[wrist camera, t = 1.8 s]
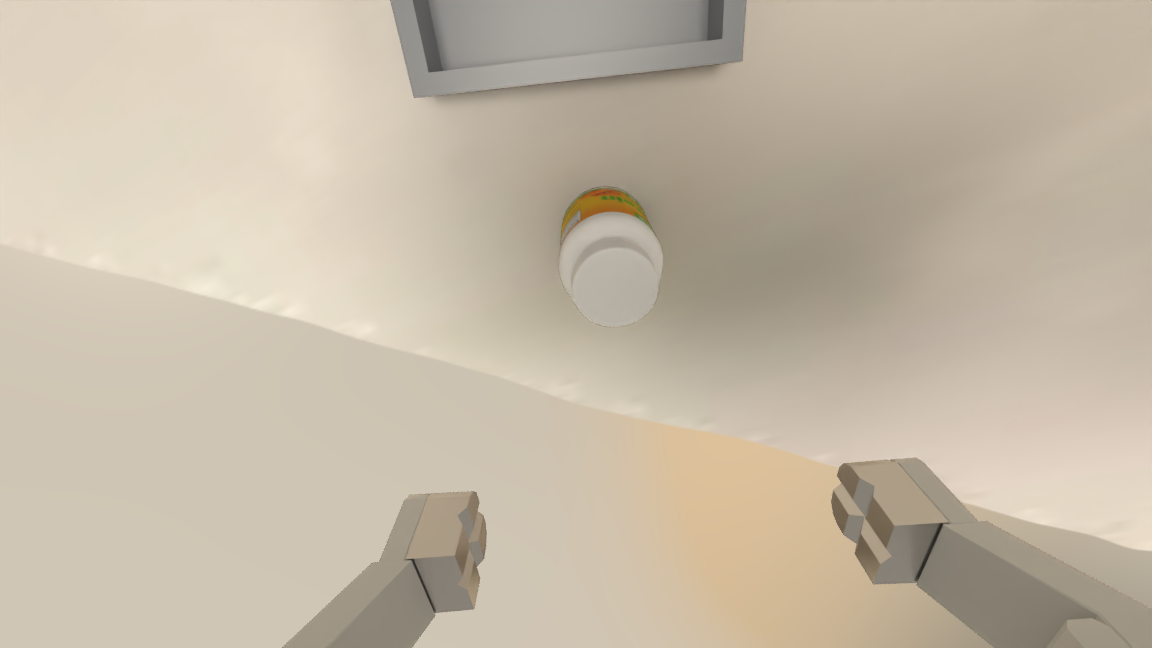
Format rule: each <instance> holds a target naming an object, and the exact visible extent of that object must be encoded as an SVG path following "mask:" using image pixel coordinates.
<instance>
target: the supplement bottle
mask: <svg viewBox="0 0 1152 648" xmlns="http://www.w3.org/2000/svg"><path fill="white" fill-rule="evenodd" d="M662 271H663V254H662V249H661V246H660V244H659V241H658V239H657V237H656V235H655V233H654V231H653V229H652V228H651V226H650V224H649V222H648V220H647V218H646V216H645V214H644V212H643V210H642V208H641V206H640V205H639V203H638V202H637V201H636V200H635V199H634V198H633V197H632V196H631V195H629V194H628V193H626V192H624V191H622V190H620V189H617V188H612V187H599V188H594V189H591V190H588V191H586V192H584V193H583V194H581V195H580V196H579V197H577V198H576V199H575V200H574V201H573V202H572V204H571V205H570V206H569V208H568V210H567V211H566V214H565V216H564V220H563V224H562V231H561V242H560V253H559V273H560V278H561V281H562V284H563V286H564V288H565V290H566V291H567V293H568V294H569V295H570V297H571V298H572V299H573V300H574V302H575V305H576V306H577V308H578V310H579V311H580V312H581V313H582V315H584V316H585V317H586V318H587V319H588V320H590V321H592V322H593V323H595V324H598V325H601V326H605V327H623V326H627V325H630V324H632V323H635V322H636V321H638V320H640V319H641V318H642V317H644V316H645V315H646V314H647V313H648V312H649V311H650V310H651V308H652V306H653V305H654V303H655V301H656V299H657V295H658V290H659V281H660V279H661V276H662Z"/></svg>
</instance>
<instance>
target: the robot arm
mask: <svg viewBox="0 0 1152 648" xmlns="http://www.w3.org/2000/svg"><path fill="white" fill-rule="evenodd" d="M837 477H838V478H839V480H840V481H841V484H840V485H839V486H838V487H836V488H835V489H834V490H833V494H832V500H831V503H832V510H833V515H834V517H835V520H836V522H837V525H838V526H839V528H840V530H841V531H842V533H843V535H845V536H846V537H847V538H849V539H850V540H852V541H853V542H855V543H856V550H855V555H856V557H857V558H858V560H859V562H860V563H861V565H862V566H863V568H864V570H865V572H866V573H867V575H868V576H869V578H870V580H871V581H872V583H873V584H896V583H917V586H918V587H919V588H921V589H922V590H923V591H924V592H926V593H927V594H928V595H929V596H931V597H932V598H933V599H934V600H936V601H937V602H938V603H939V604H941V605H942V606H943V607H944V608H946V609H947V610H948V611H949V612H951V613H952V614H953V615H955V616H956V617H957V618H958V619H959V620H960V621H962V622H963V623H964V624H966V625H967V626H968V627H969V628H970V629H972V630H973V631H974V632H975V633H977V634H978V635H979V636H981V637H982V638H983V639H984V640H986V641H987V642H988V643H989V644H990V645H992V646H993V647H994V648H1152V609H1151V608H1149V607H1147V606H1145V605H1143V604H1142V603H1140V602H1138V601H1136V600H1134V599H1132V598H1130V597H1128V596H1126V595H1124V594H1123V593H1121V592H1119V591H1117V590H1115V589H1113V588H1111V587H1110V586H1108V585H1106V584H1104V583H1102V582H1100V581H1098V580H1096V579H1094V578H1093V577H1091V576H1089V575H1087V574H1085V573H1083V572H1081V571H1079V570H1078V569H1076V568H1074V567H1072V566H1070V565H1068V564H1066V563H1064V562H1063V561H1061V560H1059V559H1056V558H1055V557H1053V556H1051V555H1049V554H1047V553H1046V552H1044V551H1042V550H1040V549H1038V548H1036V547H1034V546H1032V545H1030V544H1029V543H1027V542H1025V541H1023V540H1021V539H1019V538H1017V537H1015V536H1014V535H1012V534H1010V533H1008V532H1006V531H1004V530H1002V529H1000V528H999V527H997V526H995V525H993V524H991V523H989V522H987V521H978V520H977V519H976V518H975V517H974V516H973V515H972V514H971V513H970V511H969V510H967V508H966V507H965V506H964V505H963V504H962V503H961V502H960V501H959V500H958V499H957V498H956V497H955V495H954V494H953V493H952V492H951V491H950V490H949V489H948V488H947V487H946V486H945V485H944V484H943V483H942V482H941V480H940V479H939V478H938V477H937V476H936V475H935V474H934V473H933V472H932V471H931V470H930V469H929V468H928V467H927V466H926V464H925V463H924V462H922V461H921V460H919V459H917V458H905V459H892V460H877V461H865V462H854V463H843V464H842V465H841V466H840V467H839V471H838V474H837ZM478 506H479V499H478V496H477V493H476V492H474V491H471V492H449V493H431V494H415V495H409V496H408V497H407V498H406V499H405V501H404V502H403V505H402V507H401V510H400V512H399V515H398V517H397V519H396V522H395V524H394V527H393V529H392V532H391V534H390V537H389V539H388V541H387V544H386V546H385V549H384V551H383V553H382V556H381V558H380V561H379V562H374V563H371V564H370V565H369V566H368V567H367V568H366V569H365V570H364V571H363V572H362V573H361V574H360V575H359V576H358V577H357V578H356V579H354V580H353V581H352V582H351V583H350V584H349V585H348V586H347V587H346V588H345V589H344V590H343V591H342V592H341V593H340V594H339V595H337V596H336V597H335V598H334V599H333V600H332V601H331V602H330V603H329V604H328V605H327V606H326V607H325V608H324V609H323V610H322V611H320V612H319V613H318V614H317V615H316V616H315V617H314V618H313V619H312V620H311V621H310V622H309V623H308V624H307V625H306V626H304V627H303V628H302V629H301V630H300V631H299V632H298V633H297V634H296V635H295V636H294V637H293V638H292V639H291V640H290V641H289V642H287V643H286V644H285V645H284V646H283V647H282V648H412V647H413V646H414V644H415V643H416V641H417V640H418V639H419V637H420V636H421V635H422V633H423V632H424V631H425V629H426V628H427V626H428V625H429V624H430V622H431V621H432V619H433V618H434V617H435V613H439V612H448V611H449V612H450V611H461V610H471V609H474V608H475V603H476V597H477V592H478V587H479V582H480V576H479V573H478V570H477V566H478V565H479V564H480V563H481V562H482V560H483V559H484V555H485V550H486V534H487V533H486V523H485V519H484V516H483V515H482V514H481V513H480V512H478Z"/></svg>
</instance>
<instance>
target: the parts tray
mask: <svg viewBox="0 0 1152 648" xmlns="http://www.w3.org/2000/svg"><path fill="white" fill-rule="evenodd" d="M390 1H391V5H392V10H393V14H394V18H395V22H396V26H397V30H398V34H399V38H400V43H401V47H402V51H403V55H404V59H405V63H406V67H407V71H408V76H409V80H410V84H411V88H412V92H413V96H414V98H419V97H430V96H439V95H448V94H457V93H466V92H475V91H484V90H493V89H502V88H511V87H520V86H528V85H537V84H546V83H555V82H564V81H573V80H582V79H591V78H600V77H609V76H618V75H627V74H636V73H645V72H653V71H662V70H671V69H680V68H689V67H698V66H707V65H716V64H724V63H732V62H740V61H742V57H743V43H744V28H745V14H746V0H390Z"/></svg>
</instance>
